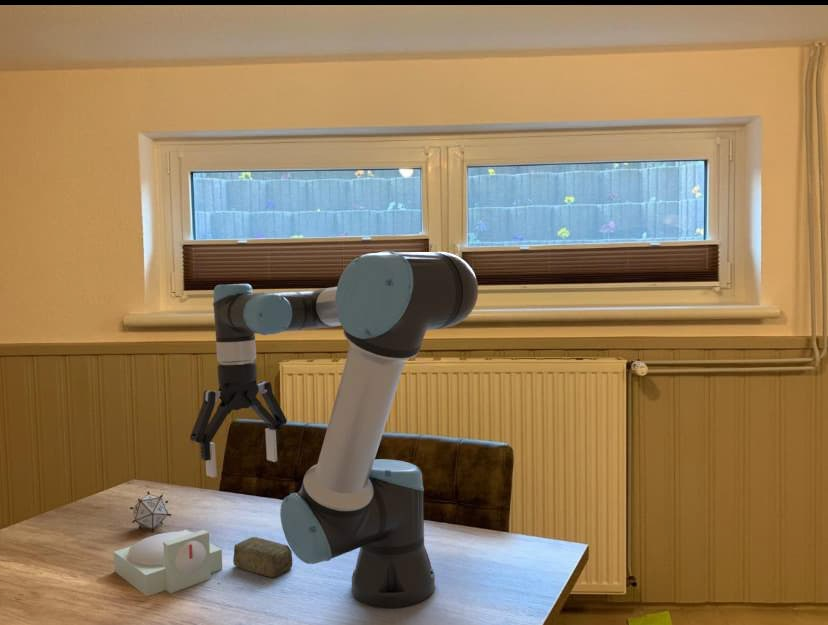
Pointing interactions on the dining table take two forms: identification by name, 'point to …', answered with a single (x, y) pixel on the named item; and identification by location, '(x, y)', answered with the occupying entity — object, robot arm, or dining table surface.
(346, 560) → the dining table surface
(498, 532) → the dining table surface
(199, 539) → the scale
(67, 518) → the dining table surface
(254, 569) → the stone block
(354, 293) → the robot arm
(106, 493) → the dining table surface
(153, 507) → the game die
